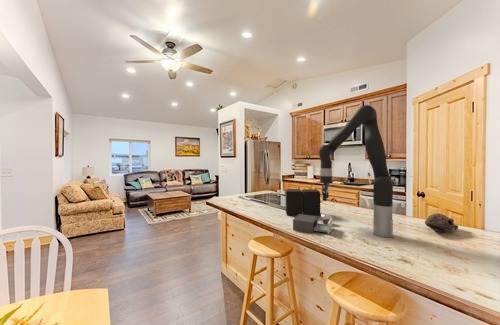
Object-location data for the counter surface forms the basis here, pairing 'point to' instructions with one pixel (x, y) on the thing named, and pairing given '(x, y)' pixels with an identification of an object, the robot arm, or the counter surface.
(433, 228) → the brown toy animal
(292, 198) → the speaker
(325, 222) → the brown rounded cylinder
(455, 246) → the counter surface
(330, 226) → the drawer
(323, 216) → the disc
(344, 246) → the counter surface
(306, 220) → the cylinder
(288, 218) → the counter surface
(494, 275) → the counter surface
